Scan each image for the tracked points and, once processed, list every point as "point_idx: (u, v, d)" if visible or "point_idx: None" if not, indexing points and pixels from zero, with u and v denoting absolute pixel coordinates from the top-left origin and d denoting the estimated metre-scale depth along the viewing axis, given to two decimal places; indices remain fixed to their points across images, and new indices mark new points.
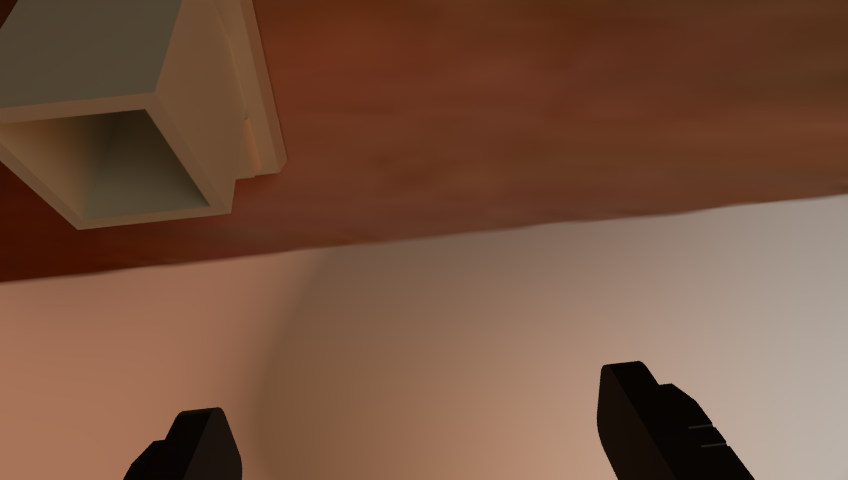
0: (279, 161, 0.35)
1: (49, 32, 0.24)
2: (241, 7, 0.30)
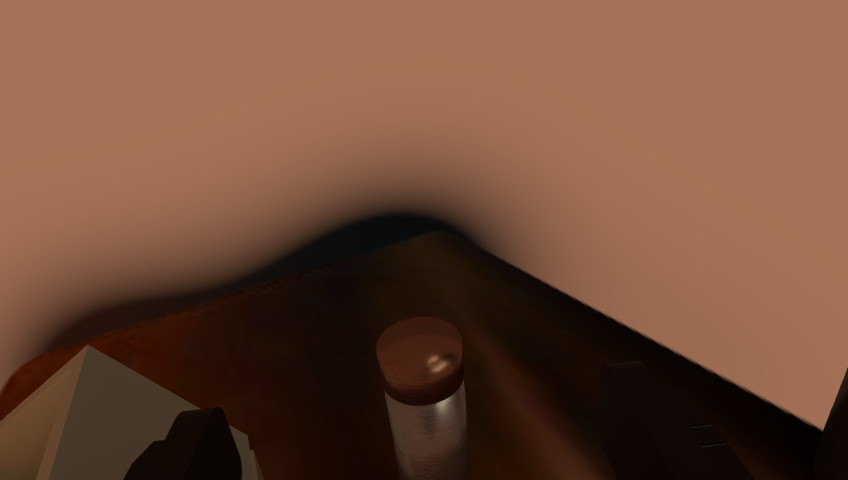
0: None
1: None
2: None
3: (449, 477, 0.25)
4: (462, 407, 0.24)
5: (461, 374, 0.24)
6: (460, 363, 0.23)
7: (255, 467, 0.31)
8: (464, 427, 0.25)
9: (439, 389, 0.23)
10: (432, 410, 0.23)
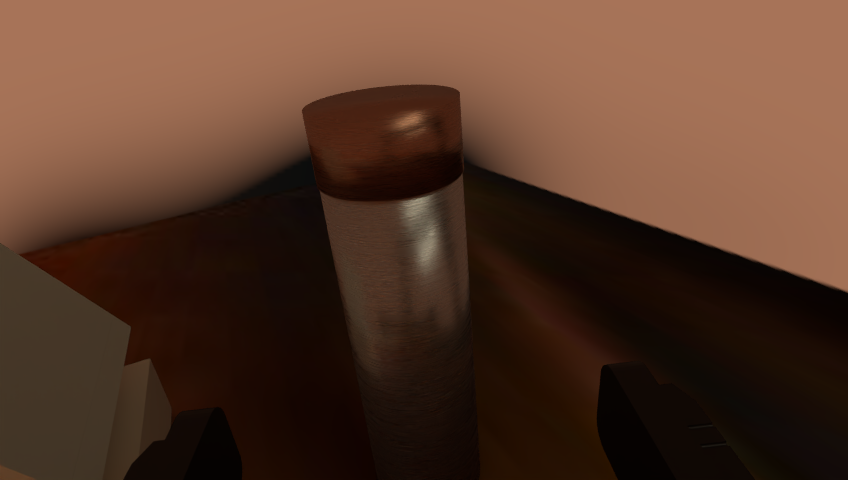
0: None
1: None
2: None
3: (437, 362, 0.15)
4: (460, 230, 0.14)
5: (458, 156, 0.13)
6: (457, 131, 0.13)
7: (147, 380, 0.21)
8: (464, 273, 0.14)
9: (416, 166, 0.12)
10: (404, 214, 0.12)
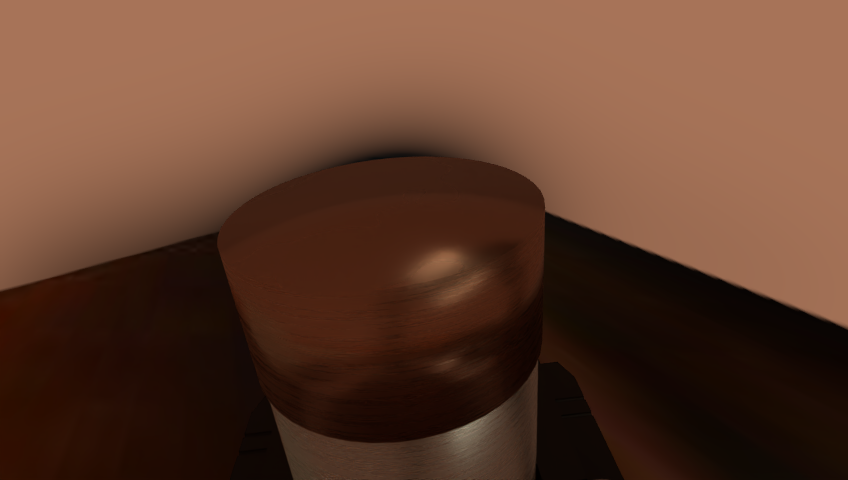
0: None
1: None
2: None
3: None
4: (533, 441, 0.07)
5: (540, 322, 0.06)
6: (540, 276, 0.06)
7: None
8: None
9: (462, 374, 0.05)
10: (432, 459, 0.06)
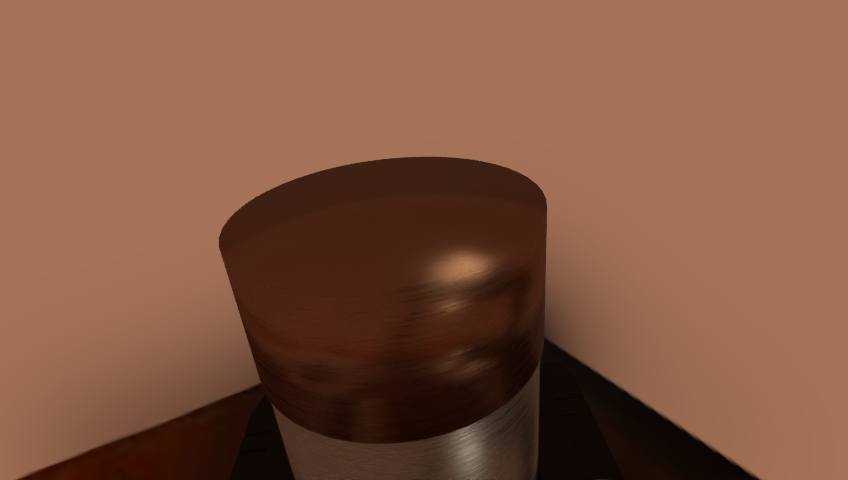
0: None
1: None
2: None
3: None
4: (535, 442, 0.07)
5: (542, 322, 0.06)
6: (542, 277, 0.06)
7: None
8: None
9: (464, 375, 0.05)
10: (435, 460, 0.06)
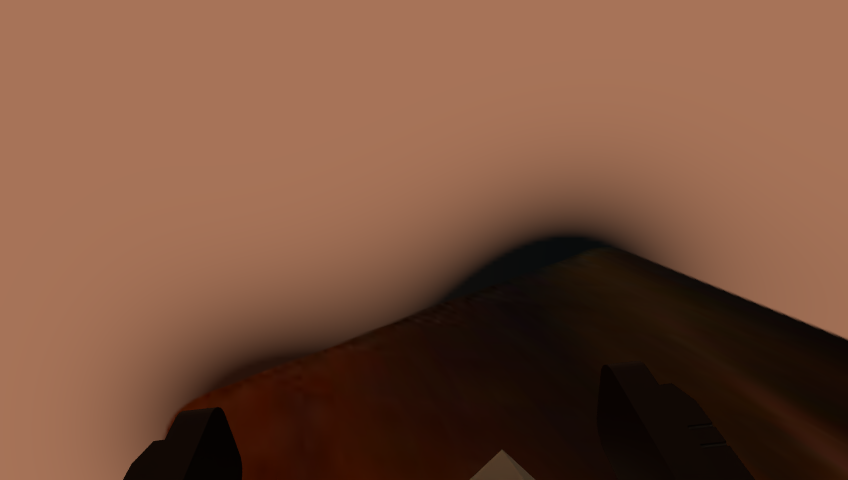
0: None
1: None
2: None
3: None
4: None
5: None
6: None
7: None
8: None
9: None
10: None
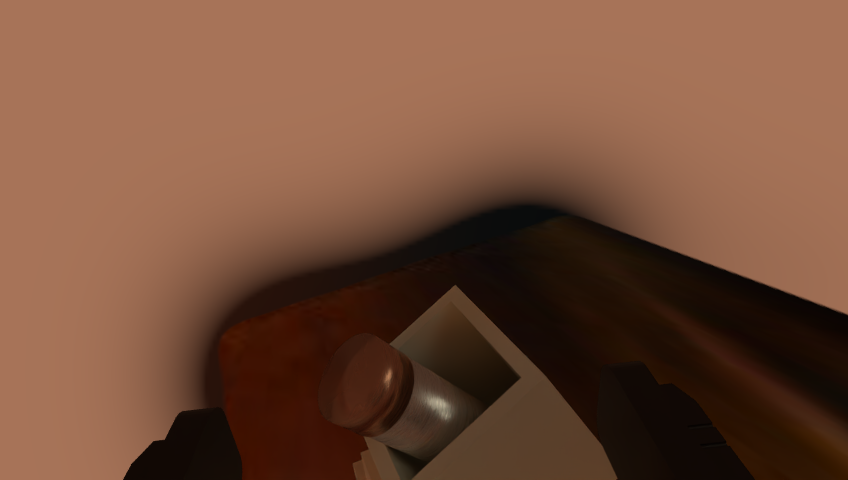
0: None
1: None
2: None
3: None
4: (432, 407, 0.23)
5: (404, 389, 0.21)
6: (393, 383, 0.21)
7: None
8: (452, 416, 0.23)
9: (382, 419, 0.21)
10: (393, 433, 0.22)
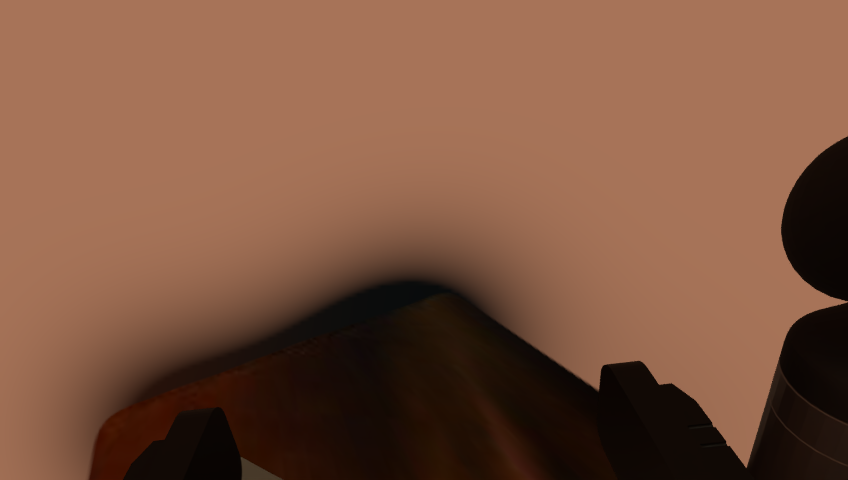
0: None
1: None
2: None
3: None
4: None
5: None
6: None
7: None
8: None
9: None
10: None
